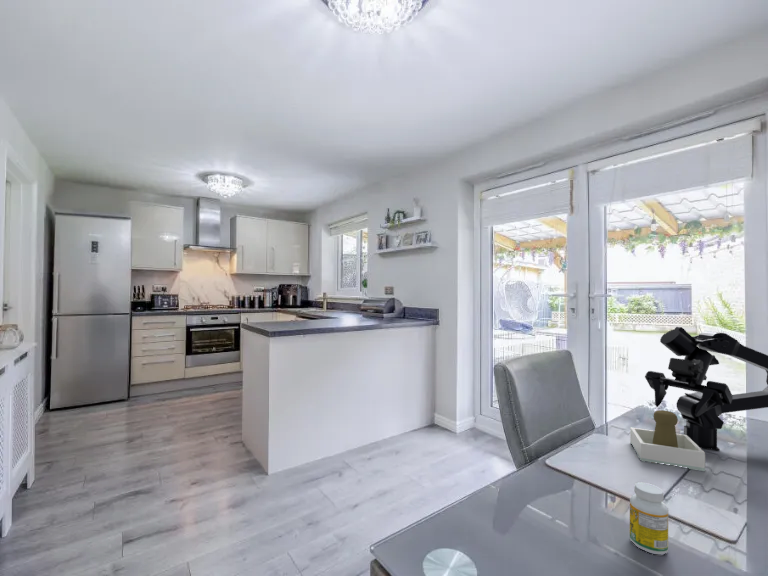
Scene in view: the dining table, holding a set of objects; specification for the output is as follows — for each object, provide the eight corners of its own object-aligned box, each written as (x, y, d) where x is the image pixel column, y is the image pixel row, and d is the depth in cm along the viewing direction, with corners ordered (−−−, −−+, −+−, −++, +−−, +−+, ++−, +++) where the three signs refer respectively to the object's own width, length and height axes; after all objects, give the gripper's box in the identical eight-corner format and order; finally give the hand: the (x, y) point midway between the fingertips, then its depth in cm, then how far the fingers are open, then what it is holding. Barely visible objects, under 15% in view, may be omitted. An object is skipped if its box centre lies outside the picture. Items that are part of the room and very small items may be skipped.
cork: (669, 448, 103) (669, 408, 103) (685, 458, 97) (685, 415, 97) (646, 447, 103) (646, 407, 104) (660, 456, 97) (660, 414, 98)
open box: (686, 451, 103) (686, 434, 103) (705, 471, 91) (705, 452, 91) (630, 442, 109) (630, 427, 109) (640, 460, 97) (640, 443, 97)
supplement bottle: (667, 561, 59) (667, 500, 59) (627, 546, 63) (627, 488, 63) (669, 544, 63) (669, 487, 64) (631, 531, 67) (632, 477, 67)
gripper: (648, 343, 113) (627, 384, 107) (728, 352, 97) (708, 400, 91) (661, 368, 117) (642, 408, 111) (740, 380, 100) (722, 428, 95)
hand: (675, 410), depth 102 cm, fingers open, 9 cm apart
